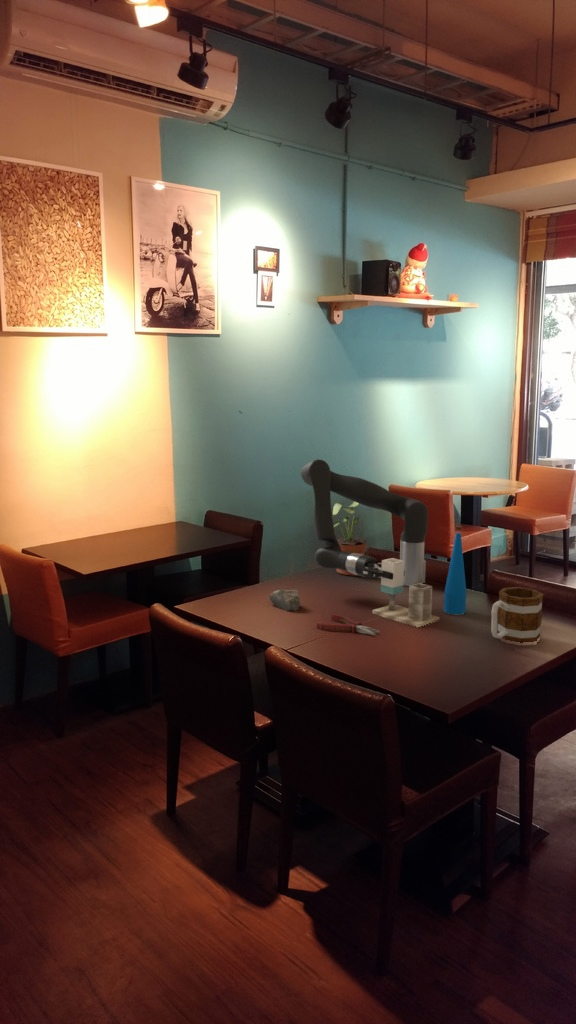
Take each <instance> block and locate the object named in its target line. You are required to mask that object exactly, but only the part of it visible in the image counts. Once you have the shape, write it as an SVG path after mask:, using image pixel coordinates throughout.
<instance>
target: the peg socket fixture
mask: <svg viewBox="0 0 576 1024" xmlns="http://www.w3.org/2000/svg"><path fill="white" fill-rule="evenodd" d="M408 590H409V591H408V607H406V606H402V605H399V604H396V594H394V595H391V594H388V595H389V596H388V597H389V598H388V605H385V606H382V607H378V608H375V609H372V612H371V613H372V614H373V615H376V616H379V617H383V618H385V619H388V620H393V621H396V622H398V621H399V622H398V623H401V622H402V623H401V624H404V625H408V624H409V625H408V626H411V625H412V626H411V627H414V626H416V627H415V628H418V627H420V628H422V627H421V626H423V627H425V626H427V625H426V624H428V625H430V624H429V623H431V624H433V623H432V622H434V623H436V622H435V621H437V620H439V621H440V616H437V615H432V608H433V607H432V605H433V586H432V585H429V584H426V583H425V584H421V583H418V584H414V585H411V586H408ZM437 622H438V621H437ZM424 625H425V626H424Z"/></svg>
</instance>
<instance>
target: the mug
mask: <svg viewBox="0 0 576 1024" xmlns="http://www.w3.org/2000/svg"><path fill="white" fill-rule="evenodd" d="M543 599H544V593H542V592H540V591H539V590H537V589H533V588H529V587H521V586H514V587H513V586H512V587H511V586H510V587H503V588H502V589H500V590H499V591H498V600H497V601H495V602H494V603H493V604H492V606H491V607H492V608H491V621H490V622H491V623H490V625H491V626H490V631H491V635H492V637H493V638H495V639H497V638H498V640H499V639H500V638H503V639H505V640H510V641H515V642H520V643H523V642H534V641H537V639H538V638H539V637H540V638H541V625H542V619H543V615H542V613H543V611H542V610H543V608H542V607H543Z"/></svg>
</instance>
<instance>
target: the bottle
mask: <svg viewBox="0 0 576 1024" xmlns="http://www.w3.org/2000/svg"><path fill="white" fill-rule="evenodd" d="M462 528H463V526H462V525H455V531H462ZM454 537H455V538H454V541H453V546H452V552H451V556H450V557H451V558H450V562H449V566H448V571H447V577H446V582H445V583H446V584H445V587H444V598H443V612H444V611H445V612H446V613H450V614H462V613H465V614H466V610H467V609H466V608H467V607H466V605H467V586H466V576H465V575H466V574H465V564H464V553H463V542H462V541H463V540H462V533H461V532H456V533H455V536H454ZM446 613H445V614H446Z"/></svg>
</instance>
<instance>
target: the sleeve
mask: <svg viewBox="0 0 576 1024" xmlns="http://www.w3.org/2000/svg"><path fill="white" fill-rule="evenodd" d="M381 563H382V569H381V570H384V571H387V572H391V573H393V579H387V578H380V592H382V593H385V594H388V595H389V594H391V595H394V594H395V595H397V594H401V593H403V592H404V585H403V578H404V561H402V560H400V559H399V558H394V557H391V558H386V559H381Z"/></svg>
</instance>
